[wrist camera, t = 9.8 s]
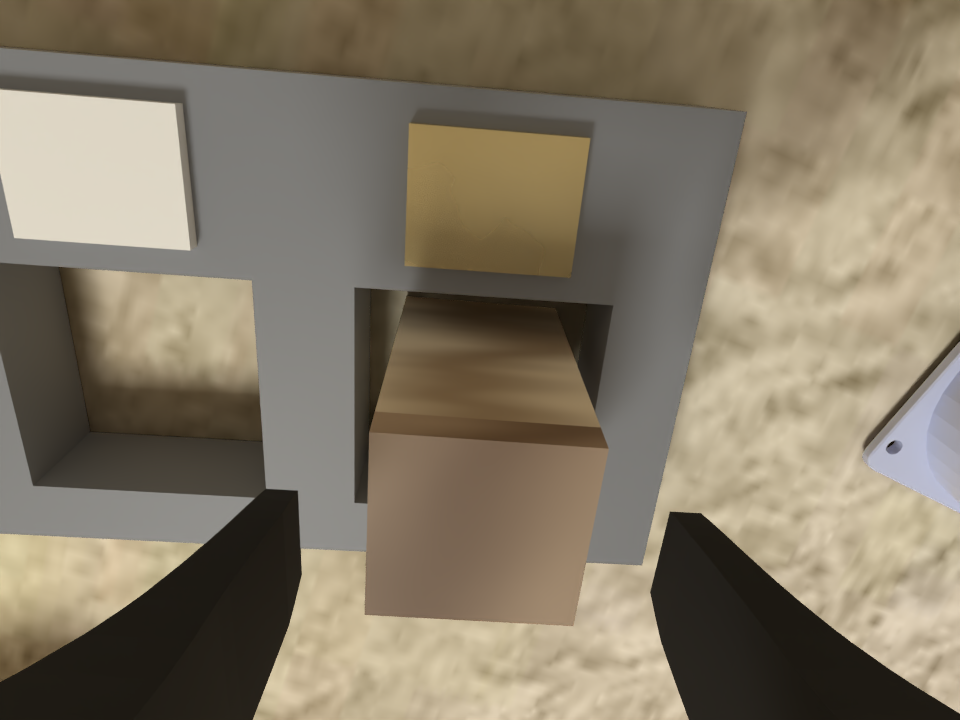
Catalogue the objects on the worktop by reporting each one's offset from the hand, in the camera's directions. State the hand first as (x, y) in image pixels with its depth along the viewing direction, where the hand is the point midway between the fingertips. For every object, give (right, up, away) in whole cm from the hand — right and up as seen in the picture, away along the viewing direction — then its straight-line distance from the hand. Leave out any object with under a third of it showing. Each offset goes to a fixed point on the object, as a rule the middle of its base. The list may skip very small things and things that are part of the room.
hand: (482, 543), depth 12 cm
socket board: (-5, +5, +7) cm, 10 cm away
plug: (0, +3, +8) cm, 8 cm away
